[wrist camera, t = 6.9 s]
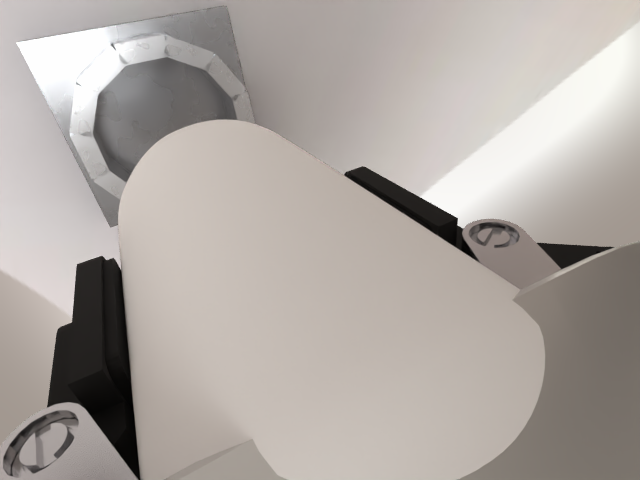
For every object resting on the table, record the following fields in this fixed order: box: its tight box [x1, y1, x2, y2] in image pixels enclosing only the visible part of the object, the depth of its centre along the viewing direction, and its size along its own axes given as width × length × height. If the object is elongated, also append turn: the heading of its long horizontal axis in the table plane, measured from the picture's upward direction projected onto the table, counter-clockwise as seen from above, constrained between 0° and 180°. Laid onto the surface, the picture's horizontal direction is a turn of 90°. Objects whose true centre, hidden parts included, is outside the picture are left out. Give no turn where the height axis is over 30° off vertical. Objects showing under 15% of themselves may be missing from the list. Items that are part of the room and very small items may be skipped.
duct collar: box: [17, 6, 255, 227], centre depth 24 cm, size 11×11×4 cm
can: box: [118, 119, 545, 480], centre depth 9 cm, size 6×6×12 cm
